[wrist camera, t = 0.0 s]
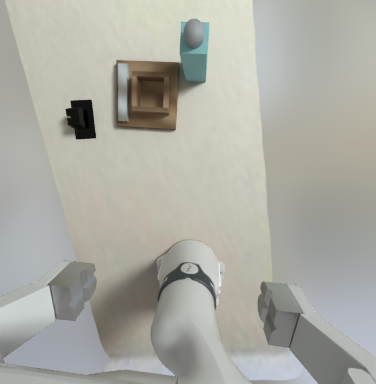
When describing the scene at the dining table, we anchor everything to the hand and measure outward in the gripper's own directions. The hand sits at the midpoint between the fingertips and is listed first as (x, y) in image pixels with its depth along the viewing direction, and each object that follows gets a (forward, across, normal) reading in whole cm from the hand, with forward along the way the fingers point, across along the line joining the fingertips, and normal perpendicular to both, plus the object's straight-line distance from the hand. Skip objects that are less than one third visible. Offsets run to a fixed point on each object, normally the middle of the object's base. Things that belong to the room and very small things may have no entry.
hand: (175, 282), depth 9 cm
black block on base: (+41, -29, +9) cm, 51 cm away
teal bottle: (+41, -2, +21) cm, 46 cm away
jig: (+40, -13, +15) cm, 45 cm away
